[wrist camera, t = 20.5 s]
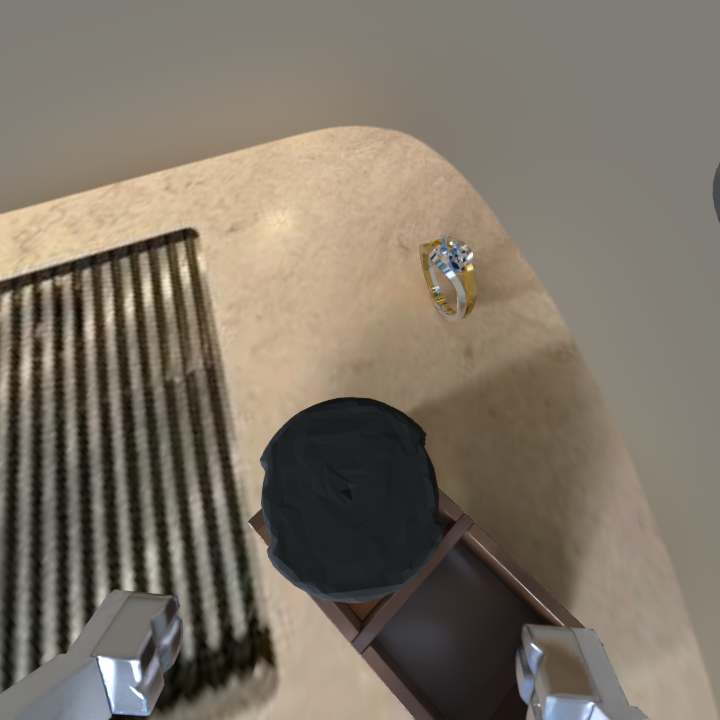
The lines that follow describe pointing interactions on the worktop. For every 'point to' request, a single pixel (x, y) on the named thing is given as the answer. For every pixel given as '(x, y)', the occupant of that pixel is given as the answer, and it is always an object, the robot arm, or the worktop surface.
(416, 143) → the worktop surface
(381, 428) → the spray can
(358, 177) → the worktop surface
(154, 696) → the robot arm
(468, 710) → the divided wooden tray
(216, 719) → the worktop surface
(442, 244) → the ring
